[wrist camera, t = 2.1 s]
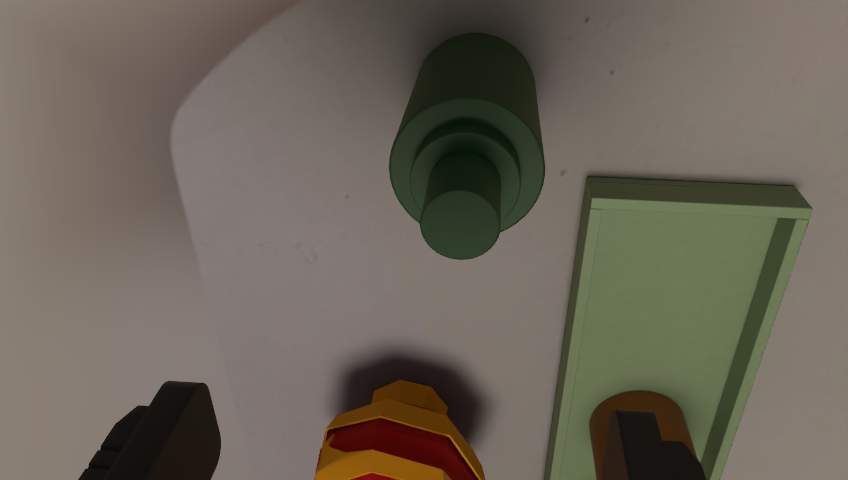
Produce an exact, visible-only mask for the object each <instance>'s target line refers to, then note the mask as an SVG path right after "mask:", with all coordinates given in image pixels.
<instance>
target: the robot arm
mask: <svg viewBox="0 0 848 480" xmlns="http://www.w3.org/2000/svg"><path fill="white" fill-rule="evenodd" d="M220 449H221V437H220V432H219V428H218V424H217V420H216V416H215V412H214V408H213V404H212V400H211V396H210V392H209V389H208V386H207V385H206V384H205V383H195V382H178V381H167V382H165V383H164V384H163V385H162V386H161V388H160V390H159V391H158V393H157V394H156V396H155V397H154V399H153V400H152V402H151V404H150V405H149V406H137V407H136V408H134V409H133V410H132V411H131V412H130V413H129V414H127V415H126V416H125V417H123V418H122V419H121V420H120V421H119V422H117V423H116V424H115V425H114V427H113V428H112V430H111V431H110V433H109V434H108V436H107V437H106V439H105V441H104V442H103V443H102V445H101V450H100V451H99V450H98V451H97V452H96V454H95V455H94V457H93V458H92V460H91V462H90V463H89V467H88V469H85V471H84V472H83V473H82V475H81V476H80V478H79V479H78V480H211V477H212V475H213V473H214V471H215V468H216V466H217V464H218V460H219V456H220ZM602 480H706V477H705V474H704V471H703V467H702V465H701V463H700V462H699V461H698V460H697V458H696V457H695V456H694V455H693V453H692V452H691V451H690V450H689V448H688V447H687V446H686V445H685V444H684V442H679V441H664V440H662V438H661V435H660V431H659V427H658V423H657V419H656V416H655V414H654V412H653V411H641V410H625V409H612V411H611V415H610V420H609V426H608V432H607V438H606V444H605V450H604V456H603V462H602Z"/></svg>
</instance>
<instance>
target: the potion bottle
mask: <svg viewBox="0 0 848 480" xmlns="http://www.w3.org/2000/svg"><path fill="white" fill-rule="evenodd" d="M447 410H448V407H447V406H446V404H445V403H444V402H443V401H442V399H441V398H440V397H439V396H438V394H437V393H436V392H435V391H434V389H433V388H432V387H429V386H425V385H421V384H417V383H412V382H408V381H404V380H398V381H396V382H394V383H391V384H389V385H386V386H384V387H382V388H379V389H377V390H374V394H373V398H372V402H371V404H370V405H367V406H364V407H361V408H358V409H355V410H352V411H349V412H346V413H343V414H340V415H337V416H336V417H335V418H334V420H333V421H332V422H331V423H330V424H329V426H328V427H327V428H326V431H325V436H324V440H323V445H322V448H321V450H320V454H319V459H318V464H317V469H316V473H315V479H314V480H485V477H484V473H483V469H482V466H481V464H480V462H479V460H478V458H477V456H476V455H475V453H474V451H473V449H472V448H471V447H470V445H469V444H468V443H467V441H466V440H465V439H464V438H463V436H462V435H461V434H460V432H459V431H458V430H457V428H456V427H455V426H454V424H453V423H452V422H451V420H450V419H449V418H448V417H447V415H446V413H447Z"/></svg>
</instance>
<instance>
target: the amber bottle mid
mask: <svg viewBox="0 0 848 480" xmlns="http://www.w3.org/2000/svg"><path fill="white" fill-rule="evenodd" d="M612 409H625V410H641V411H653V412H654V414H655V416H656V419H657V423H658V427H659V431H660V435H661V438H662V440H664V441H679V442H684V444H685V445H686V446H687V447H688V448H689V450H690V451H691V452H692V453H693V455H694V456H695V457H696V458H697V455H696V452H695V449H694V445H693V442H692V439H691V436H690V433H689V429H688V426H687V423H686V420H685V416H684V414H683V411H682V410H681V408H680V407H679V406H678V405H677V404H676V403H675V402H674V401H673V400H671V399H670V398H668V397H666V396H664V395H662V394H659V393H655V392H650V391H629V392H624V393H620V394H617V395H614V396H612V397H610V398H608V399H606V400H605V401H603V402H602V403H601V404H600V405H599V406H598V407H597V408H596V409H595V410H594V412H593V413H592V415H591V418H590V421H589V431H590V438H591V445H592V452H593V459H594V466H595V473H596V480H602V462H603V456H604V450H605V444H606V438H607V432H608V426H609V420H610V415H611V411H612ZM697 460H698V458H697Z"/></svg>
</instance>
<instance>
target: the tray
mask: <svg viewBox="0 0 848 480" xmlns="http://www.w3.org/2000/svg"><path fill="white" fill-rule="evenodd" d="M812 210H813V208H812V207H811V206H810V205H809V204H808V202H807V201H806V200H805V199H804V197H803V196H802V195H801V194H800V193H799V192H798V190H797V189H796V188H795V187H794V186H774V185H752V184H731V183H709V182H687V181H666V180H644V179H623V178H601V177H587V178H586V185H585V192H584V200H583V207H582V214H581V221H580V228H579V235H578V242H577V249H576V256H575V263H574V270H573V277H572V284H571V291H570V298H569V305H568V312H567V319H566V326H565V333H564V340H563V347H562V355H561V362H560V369H559V376H558V383H557V390H556V397H555V404H554V411H553V418H552V425H551V432H550V439H549V446H548V453H547V460H546V467H545V474H544V480H596V473H595V466H594V459H593V452H592V445H591V438H590V431H589V421H590V418H591V415H592V413H593V412H594V410H595V409H596V408H597V407H598V406H599V405H600V404H601V403H602V402H603V401H605V400H606V399H608V398H610V397H612V396H614V395H617V394H620V393H624V392H629V391H650V392H655V393H659V394H662V395H664V396H666V397H668V398H670V399H671V400H673V401H674V402H675V403H676V404H677V405H678V406H679V407H680V408H681V410H682V411H683V414H684V416H685V420H686V423H687V426H688V429H689V433H690V436H691V439H692V442H693V445H694V449H695V452H696V455H697V458H698V461H699V462H700V463H701V465H702V467H703V471H704V474H705V477H706V480H720V478H721V475H722V472H723V469H724V466H725V463H726V460H727V457H728V454H729V451H730V449H731V446H732V443H733V440H734V437H735V434H736V431H737V428H738V425H739V422H740V420H741V417H742V414H743V411H744V408H745V405H746V402H747V399H748V396H749V393H750V391H751V388H752V385H753V382H754V379H755V376H756V373H757V370H758V367H759V364H760V362H761V359H762V356H763V353H764V350H765V347H766V344H767V341H768V338H769V335H770V333H771V330H772V327H773V324H774V321H775V318H776V315H777V312H778V309H779V306H780V304H781V301H782V298H783V295H784V292H785V289H786V286H787V283H788V280H789V277H790V274H791V272H792V269H793V266H794V263H795V260H796V257H797V254H798V251H799V248H800V245H801V243H802V240H803V237H804V234H805V231H806V228H807V225H808V222H809V219H810V216H811V213H812Z"/></svg>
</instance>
